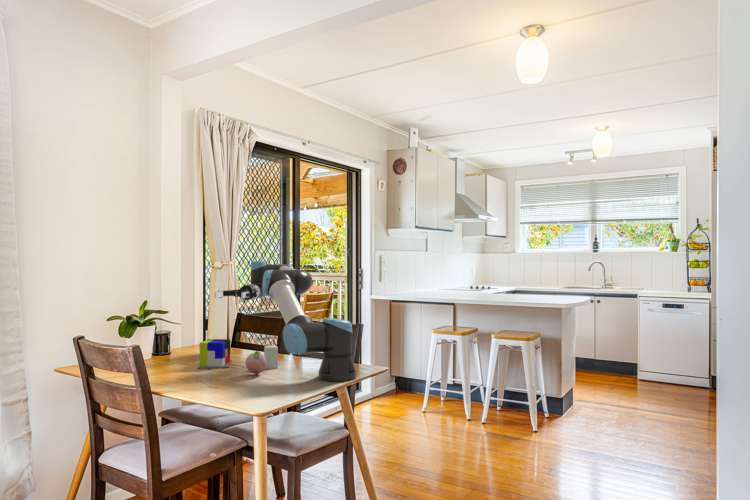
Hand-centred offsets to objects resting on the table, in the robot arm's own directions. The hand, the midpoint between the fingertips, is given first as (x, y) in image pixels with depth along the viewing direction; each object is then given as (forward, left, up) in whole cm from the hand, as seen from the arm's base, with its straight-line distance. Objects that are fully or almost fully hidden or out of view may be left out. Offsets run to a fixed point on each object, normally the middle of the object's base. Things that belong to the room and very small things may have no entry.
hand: (228, 295), depth 236 cm
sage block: (-19, -19, -30) cm, 41 cm away
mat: (-10, +5, -30) cm, 32 cm away
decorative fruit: (-32, -13, -30) cm, 46 cm away
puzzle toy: (-10, +5, -30) cm, 32 cm away
